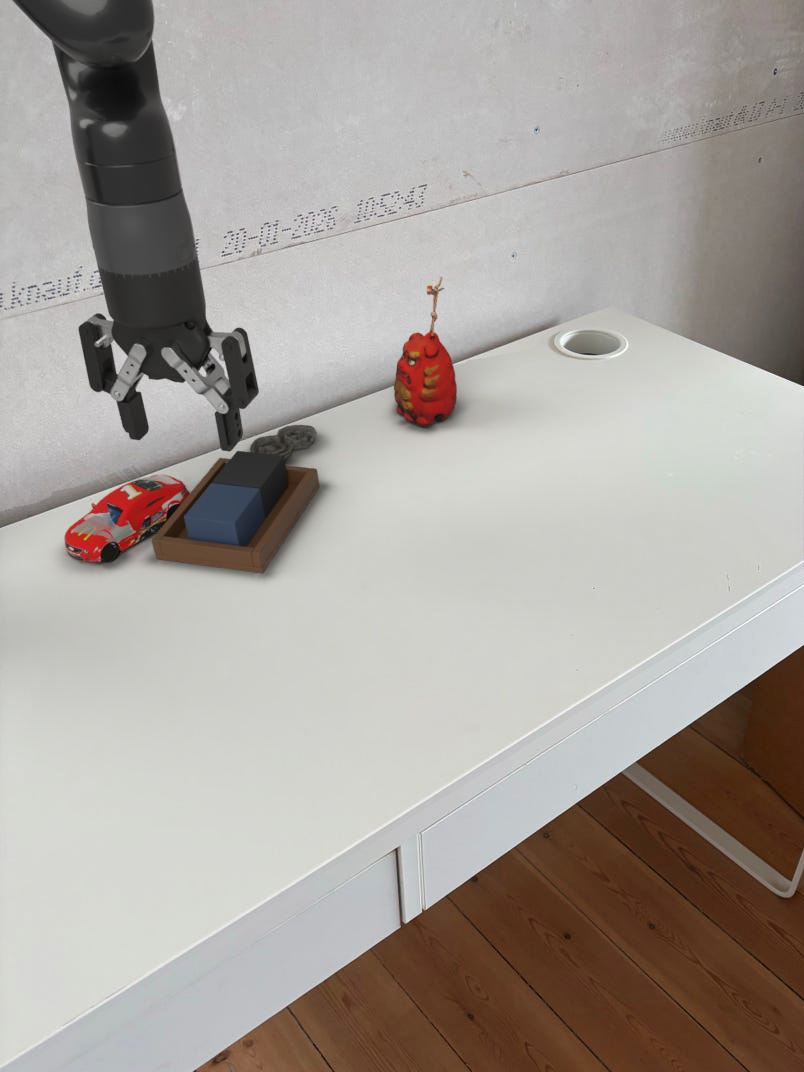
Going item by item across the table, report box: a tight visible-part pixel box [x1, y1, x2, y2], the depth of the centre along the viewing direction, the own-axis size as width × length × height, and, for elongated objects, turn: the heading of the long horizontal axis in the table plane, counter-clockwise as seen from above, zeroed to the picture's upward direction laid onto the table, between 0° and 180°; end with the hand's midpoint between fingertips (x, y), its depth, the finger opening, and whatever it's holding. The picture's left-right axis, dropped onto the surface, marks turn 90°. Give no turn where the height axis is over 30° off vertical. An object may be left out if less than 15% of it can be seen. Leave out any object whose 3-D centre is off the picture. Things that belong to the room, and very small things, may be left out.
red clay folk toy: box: [393, 276, 458, 428], centre depth 110 cm, size 8×7×15 cm
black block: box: [212, 450, 289, 518], centre depth 100 cm, size 5×6×4 cm
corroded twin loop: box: [249, 424, 317, 460], centre depth 109 cm, size 5×8×1 cm, turn 136°
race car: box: [64, 473, 191, 563], centre depth 96 cm, size 13×5×4 cm, turn 143°
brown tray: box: [151, 457, 320, 574], centre depth 98 cm, size 11×15×2 cm
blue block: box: [184, 483, 265, 547], centre depth 95 cm, size 5×6×4 cm
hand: (184, 441), depth 88 cm, fingers open, 8 cm apart
